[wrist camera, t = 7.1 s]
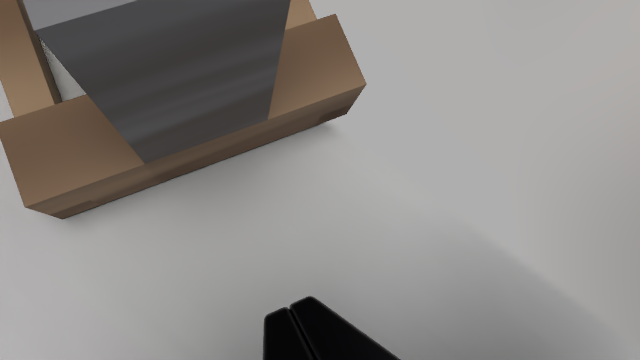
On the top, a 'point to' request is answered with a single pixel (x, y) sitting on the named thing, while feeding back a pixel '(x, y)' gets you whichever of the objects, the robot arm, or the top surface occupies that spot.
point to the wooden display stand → (160, 89)
